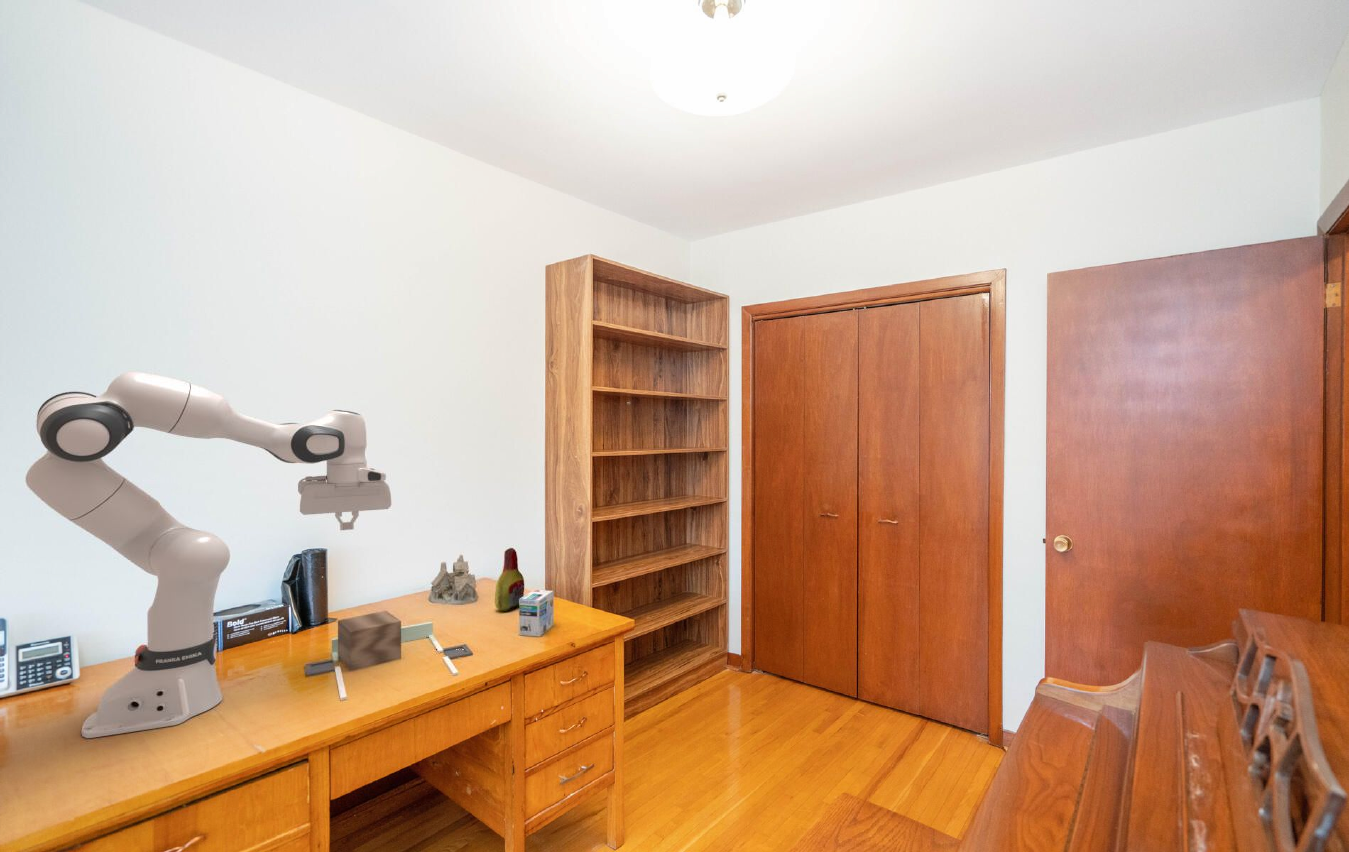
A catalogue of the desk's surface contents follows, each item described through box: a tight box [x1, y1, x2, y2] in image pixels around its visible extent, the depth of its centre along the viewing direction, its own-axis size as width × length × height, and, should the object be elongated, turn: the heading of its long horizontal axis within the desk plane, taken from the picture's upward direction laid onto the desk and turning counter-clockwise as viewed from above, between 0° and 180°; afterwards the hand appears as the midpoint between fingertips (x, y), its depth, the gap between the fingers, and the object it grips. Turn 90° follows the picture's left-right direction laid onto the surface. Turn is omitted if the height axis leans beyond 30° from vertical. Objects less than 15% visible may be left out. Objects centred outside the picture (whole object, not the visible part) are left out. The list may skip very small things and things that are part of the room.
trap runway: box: [304, 621, 474, 701], centre depth 153 cm, size 38×32×4 cm
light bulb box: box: [518, 589, 555, 638], centre depth 178 cm, size 11×7×11 cm, turn 168°
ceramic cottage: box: [428, 554, 479, 606], centre depth 209 cm, size 16×16×15 cm
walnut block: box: [337, 610, 402, 672], centre depth 157 cm, size 12×12×10 cm
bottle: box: [494, 547, 525, 612], centre depth 199 cm, size 12×6×20 cm, turn 150°
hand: (346, 529), depth 150 cm, fingers closed
